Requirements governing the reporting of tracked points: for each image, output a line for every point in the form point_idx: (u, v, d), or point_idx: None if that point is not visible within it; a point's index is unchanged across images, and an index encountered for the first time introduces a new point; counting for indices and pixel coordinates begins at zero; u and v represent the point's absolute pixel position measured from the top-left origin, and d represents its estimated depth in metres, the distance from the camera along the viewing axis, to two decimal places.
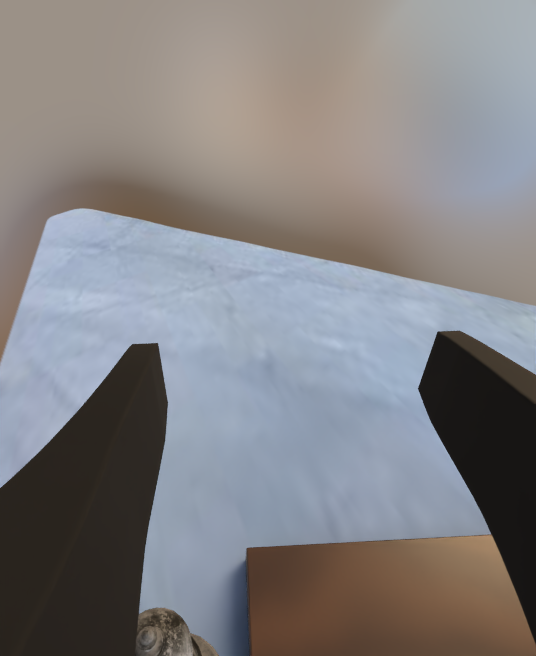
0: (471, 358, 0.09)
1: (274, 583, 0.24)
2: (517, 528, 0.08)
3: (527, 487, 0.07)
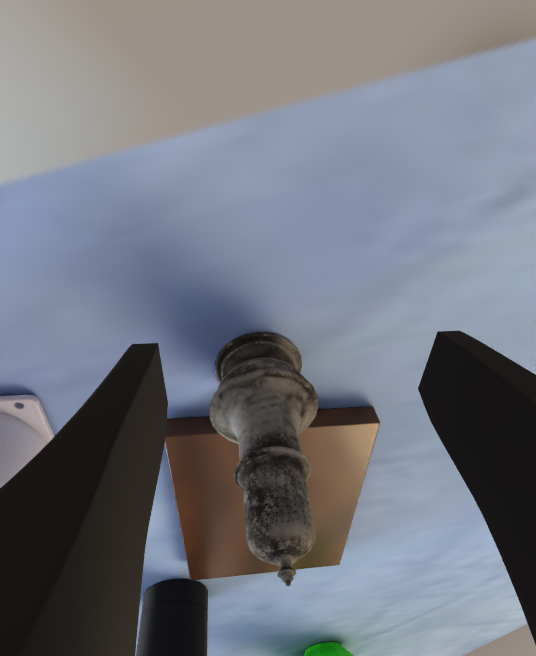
0: (471, 358, 0.09)
1: (343, 440, 0.27)
2: (517, 528, 0.08)
3: (527, 486, 0.07)
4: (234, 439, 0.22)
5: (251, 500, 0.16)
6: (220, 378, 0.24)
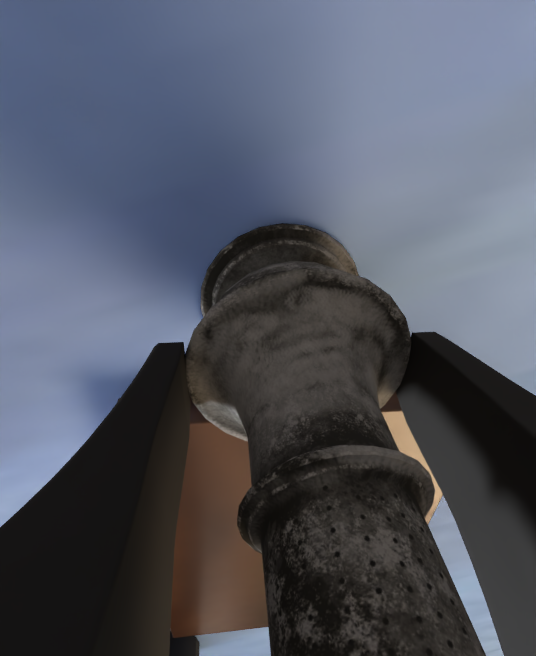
0: (442, 359, 0.09)
1: None
2: (485, 531, 0.08)
3: (493, 489, 0.07)
4: (236, 431, 0.11)
5: (294, 614, 0.05)
6: None
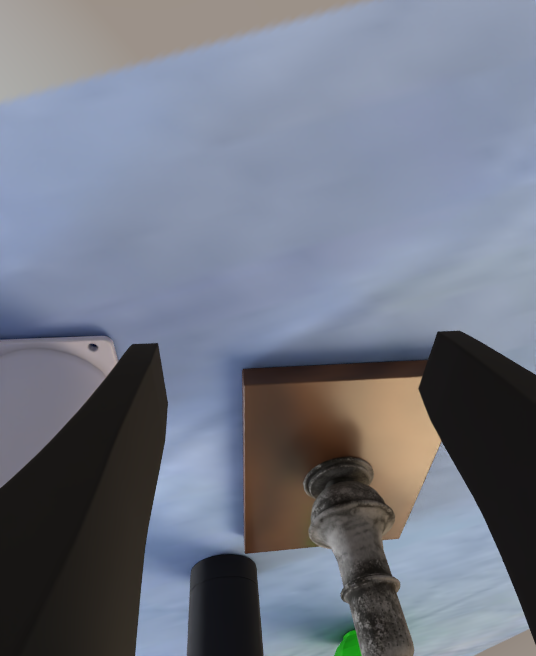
0: (471, 358, 0.09)
1: None
2: (517, 528, 0.08)
3: (527, 486, 0.07)
4: (324, 545, 0.27)
5: (363, 622, 0.21)
6: (307, 489, 0.29)
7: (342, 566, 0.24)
